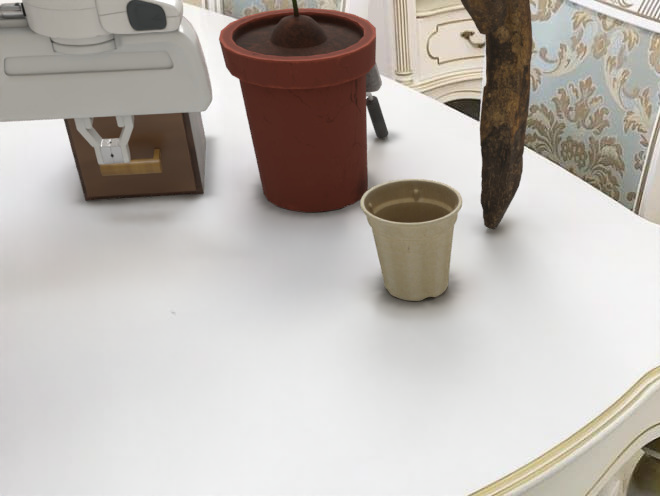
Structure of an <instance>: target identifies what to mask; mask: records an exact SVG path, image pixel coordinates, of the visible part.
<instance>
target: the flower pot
mask: <svg viewBox="0 0 660 496" xmlns="http://www.w3.org/2000/svg"><path fill="white" fill-rule="evenodd" d="M359 205H360V209H361V211H362V213H363V214H364V215H365V216H366V220H367V223H368V225H369V226H370V228H371V231H372V236H373V239H374V244H375V248H376V253H377V257H378V262H379V266H380V271H381V275H382V280H383V286H384V288H385V289H386V290H387V291H388V293H389V294H390V295H391V296H392V297H394V298H397V299H399V300H403V301H410V302H421V301H423V300H424V299H427V298H438V297H440V296H441V295H442V294H444V292H446V290H447V289H448V287H449V280H450V279H449V278H450V266H451V260H452V259H451V258H452V247H453V240H454V239H453V238H454V231H455V230H454V229H455V225H456V223H457V221H458V217H459V214H458V213H460V211H461V208H462V207H463V197H462V194H461V193H460V192H459V191H458V190H457V189H456V188H454V187H452V185H449V184H447V183H444V182H441V181H436V180H431V179H424V178H404V179H403V178H402V179H396V180H389V181H386V182H382V183H379V184H377V185H375V186H372V187H371V188H368V191H366V192H365V193H364V194H363V196H362V198H361V199H360V200H359Z"/></svg>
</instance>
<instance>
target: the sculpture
mask: <svg viewBox="0 0 660 496" xmlns="http://www.w3.org/2000/svg"><path fill="white" fill-rule="evenodd" d="M460 3H461V4H462V6H463V8H464V9H465V10H466V12H467V14H468V15H469V16H470V18H471V19H472V22H473V23H474V25H475V27H476V29H477V31H478V32H479V34H480V35H485V76H486V83H485V85H484V86H483V88H482V89H483V90H482V99H481V107H480V108H481V109H480V122H479V141H480V142H479V143H480V144H479V145H480V155H481V182H480V186H481V192H480V205H481V208H482V218H483V225H484V227H485V228H487V229H489V230H495V229H496V228H497V227H498V226H499V225H500V223H501V222H502V220H503V218H504V216H505V214H506V213H507V211H508V209H509V207H510V205H511V203H512V202H513V200H514V198H515V196H516V194H517V191H518V189H519V187H520V184H521V181H522V175H523V171H524V170H523V169H524V152H525V143H526V132H527V123H528V117H529V107H530V99H531V61H532V56H533V27H532V26H533V25H532V13H531V12H532V11H531V4H530V3H531V2H530V0H460Z"/></svg>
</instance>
